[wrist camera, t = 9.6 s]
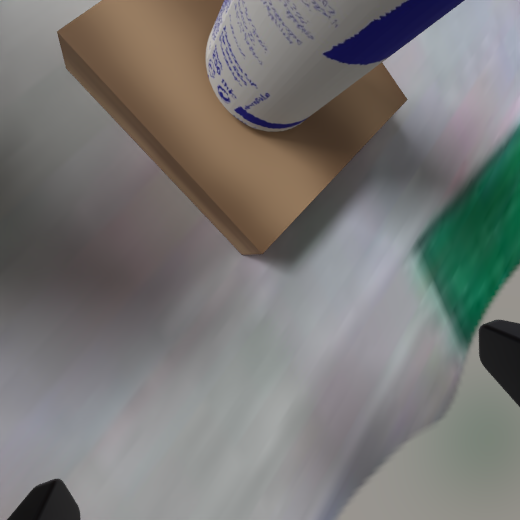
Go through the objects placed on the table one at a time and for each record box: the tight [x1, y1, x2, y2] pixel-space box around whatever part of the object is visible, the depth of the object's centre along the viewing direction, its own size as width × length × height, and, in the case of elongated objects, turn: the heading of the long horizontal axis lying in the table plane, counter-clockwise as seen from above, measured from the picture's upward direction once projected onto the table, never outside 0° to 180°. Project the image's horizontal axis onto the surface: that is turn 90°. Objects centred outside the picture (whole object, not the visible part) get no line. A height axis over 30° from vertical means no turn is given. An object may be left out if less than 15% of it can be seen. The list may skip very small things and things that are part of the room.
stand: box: [57, 0, 407, 255], centre depth 19 cm, size 12×12×3 cm
